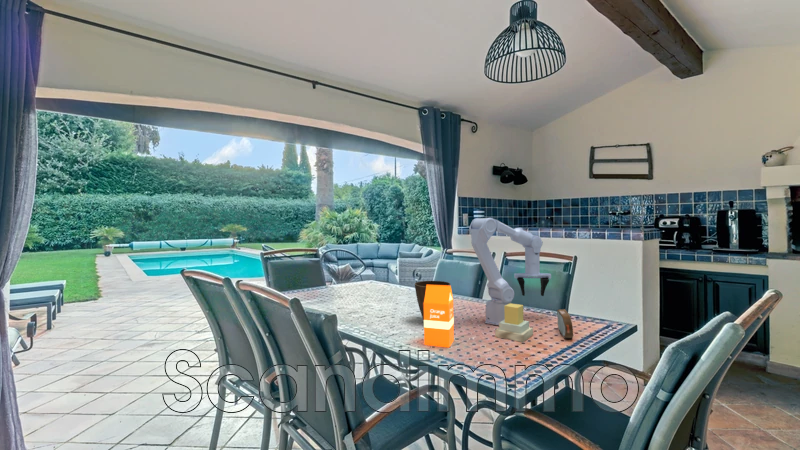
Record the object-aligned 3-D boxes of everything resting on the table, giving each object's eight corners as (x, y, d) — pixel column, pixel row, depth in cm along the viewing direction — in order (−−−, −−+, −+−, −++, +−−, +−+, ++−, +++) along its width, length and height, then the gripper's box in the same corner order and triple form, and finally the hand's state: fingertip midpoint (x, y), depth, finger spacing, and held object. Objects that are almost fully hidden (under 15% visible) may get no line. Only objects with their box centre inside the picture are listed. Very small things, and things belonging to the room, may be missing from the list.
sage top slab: (499, 329, 128) (499, 322, 128) (507, 324, 134) (507, 317, 134) (521, 333, 123) (521, 326, 123) (529, 328, 129) (529, 321, 129)
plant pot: (432, 314, 159) (431, 279, 159) (458, 321, 148) (457, 283, 147) (407, 321, 149) (407, 283, 149) (433, 329, 138) (433, 288, 138)
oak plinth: (495, 336, 128) (495, 329, 128) (506, 329, 135) (506, 323, 135) (523, 342, 121) (522, 335, 121) (532, 334, 129) (532, 327, 129)
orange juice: (449, 347, 117) (448, 287, 117) (423, 344, 120) (422, 286, 120) (454, 340, 125) (453, 283, 125) (430, 337, 128) (429, 282, 128)
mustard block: (504, 322, 128) (504, 305, 128) (510, 319, 132) (509, 303, 132) (518, 324, 125) (518, 307, 125) (523, 321, 129) (523, 305, 128)
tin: (574, 341, 121) (573, 317, 121) (564, 341, 122) (563, 316, 122) (564, 328, 136) (564, 306, 136) (555, 328, 136) (555, 306, 136)
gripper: (516, 264, 147) (516, 297, 147) (553, 264, 144) (553, 297, 145) (513, 262, 154) (513, 293, 154) (548, 262, 151) (548, 294, 151)
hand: (532, 295), depth 150 cm, fingers open, 7 cm apart
